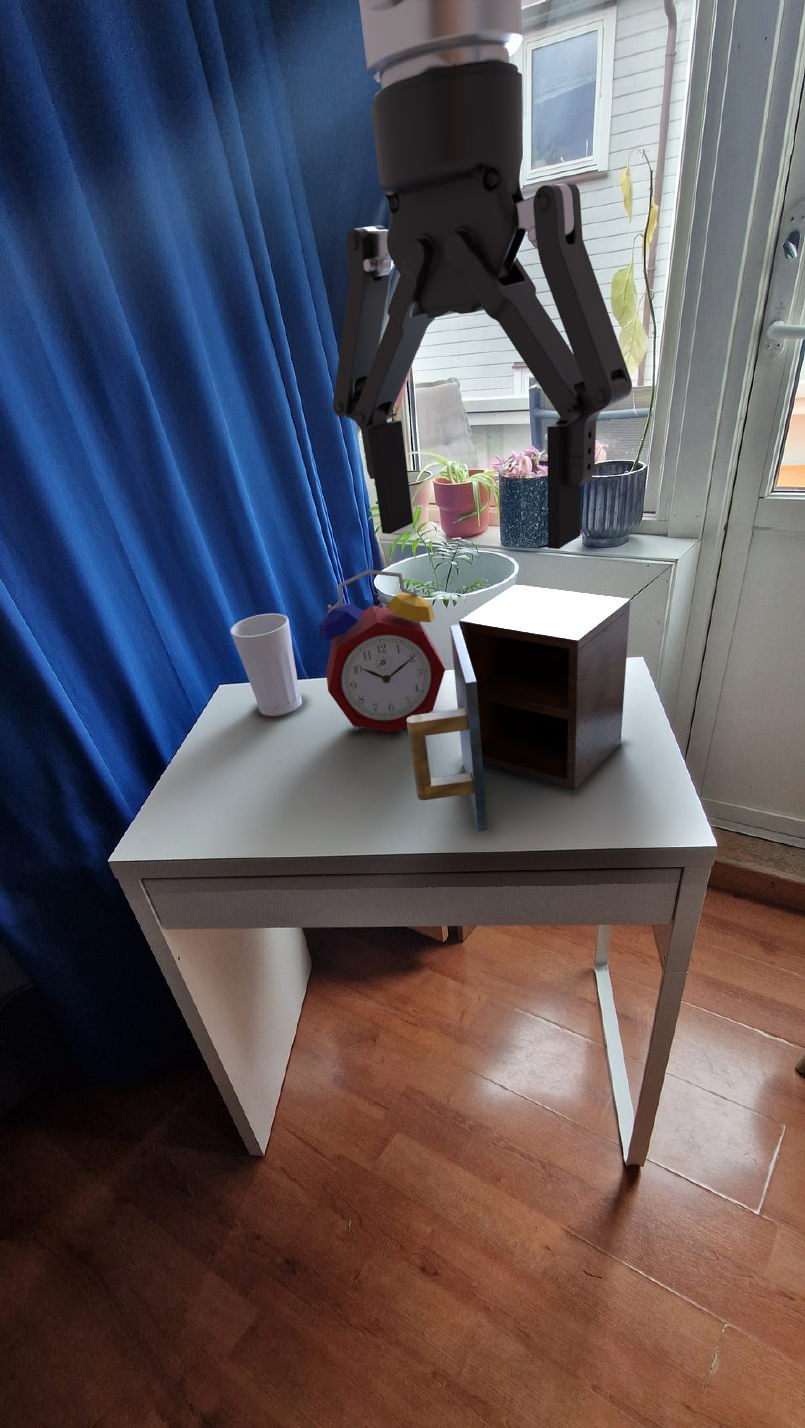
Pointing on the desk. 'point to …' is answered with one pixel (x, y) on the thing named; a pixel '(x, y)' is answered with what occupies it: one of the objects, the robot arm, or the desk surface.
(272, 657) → the cup
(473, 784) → the door
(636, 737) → the desk surface
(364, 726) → the alarm clock
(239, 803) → the desk surface
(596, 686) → the cupboard
